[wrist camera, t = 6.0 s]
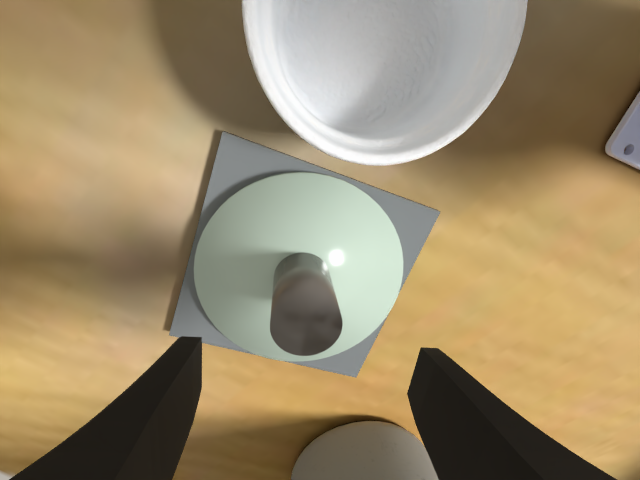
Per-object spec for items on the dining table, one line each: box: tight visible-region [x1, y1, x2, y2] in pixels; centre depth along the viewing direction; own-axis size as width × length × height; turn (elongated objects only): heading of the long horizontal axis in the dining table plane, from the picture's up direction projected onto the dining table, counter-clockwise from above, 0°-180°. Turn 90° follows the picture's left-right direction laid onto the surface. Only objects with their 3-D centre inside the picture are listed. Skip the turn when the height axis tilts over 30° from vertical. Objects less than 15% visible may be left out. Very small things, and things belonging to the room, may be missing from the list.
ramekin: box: [242, 0, 528, 166], centre depth 12 cm, size 9×9×4 cm
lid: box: [194, 171, 403, 362], centre depth 15 cm, size 10×10×5 cm
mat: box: [169, 131, 440, 377], centre depth 17 cm, size 11×11×1 cm
